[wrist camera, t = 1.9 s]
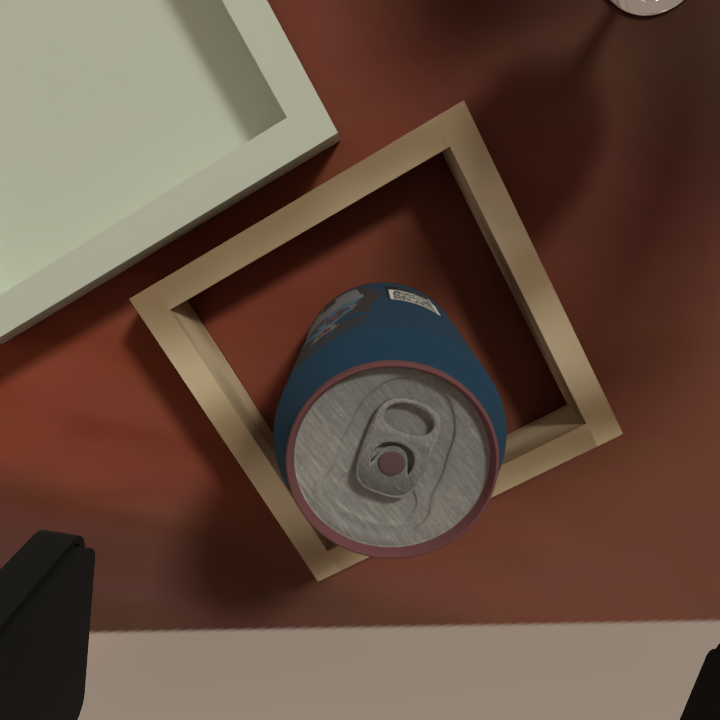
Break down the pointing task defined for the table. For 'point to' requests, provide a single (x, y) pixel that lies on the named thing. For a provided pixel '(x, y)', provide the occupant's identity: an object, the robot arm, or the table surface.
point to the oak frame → (441, 134)
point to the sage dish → (135, 134)
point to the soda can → (389, 425)
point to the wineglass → (645, 6)
